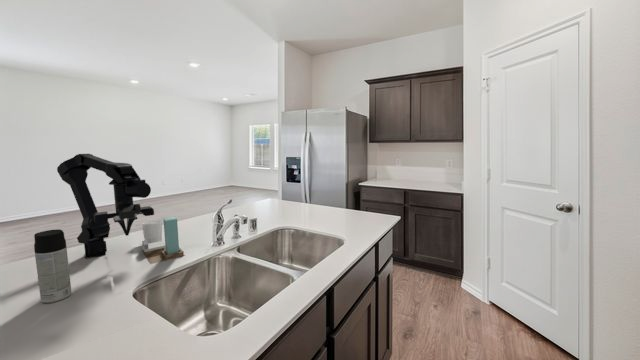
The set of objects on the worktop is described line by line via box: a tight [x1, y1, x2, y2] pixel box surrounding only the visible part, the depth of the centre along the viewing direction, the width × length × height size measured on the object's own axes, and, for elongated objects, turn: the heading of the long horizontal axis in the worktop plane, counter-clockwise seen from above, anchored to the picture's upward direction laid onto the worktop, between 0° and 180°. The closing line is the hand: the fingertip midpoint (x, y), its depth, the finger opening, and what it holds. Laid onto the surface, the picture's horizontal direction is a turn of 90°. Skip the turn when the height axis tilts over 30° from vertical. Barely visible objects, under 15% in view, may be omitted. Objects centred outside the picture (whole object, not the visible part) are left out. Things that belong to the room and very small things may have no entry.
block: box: [162, 216, 180, 255], centre depth 110 cm, size 4×4×15 cm
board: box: [141, 247, 186, 265], centre depth 113 cm, size 12×18×2 cm, turn 41°
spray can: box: [33, 228, 72, 304], centre depth 80 cm, size 7×7×20 cm
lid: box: [141, 239, 165, 252], centre depth 114 cm, size 7×7×3 cm
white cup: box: [141, 219, 163, 243], centre depth 127 cm, size 8×8×10 cm
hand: (127, 235), depth 108 cm, fingers closed
